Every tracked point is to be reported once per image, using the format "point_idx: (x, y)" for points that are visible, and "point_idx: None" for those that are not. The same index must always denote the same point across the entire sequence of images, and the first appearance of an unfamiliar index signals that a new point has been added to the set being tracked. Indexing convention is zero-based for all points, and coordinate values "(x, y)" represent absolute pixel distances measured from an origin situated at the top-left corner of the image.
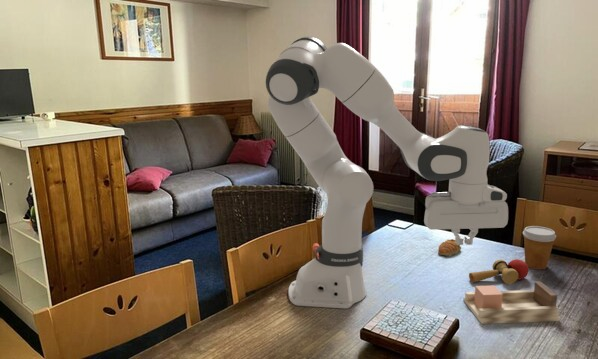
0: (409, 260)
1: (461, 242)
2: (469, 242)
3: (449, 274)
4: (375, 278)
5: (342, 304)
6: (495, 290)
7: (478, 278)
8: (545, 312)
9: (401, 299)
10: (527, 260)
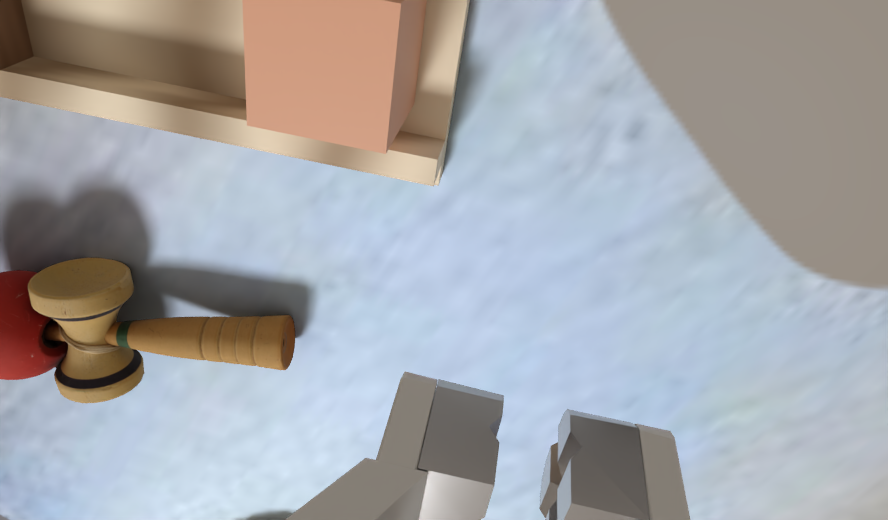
0: None
1: (606, 446)
2: (453, 409)
3: (368, 410)
4: (763, 486)
5: None
6: (270, 48)
7: (255, 323)
8: None
9: (792, 284)
10: None
